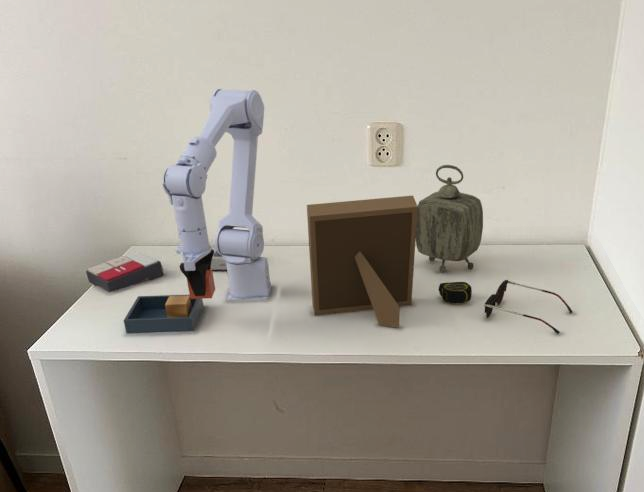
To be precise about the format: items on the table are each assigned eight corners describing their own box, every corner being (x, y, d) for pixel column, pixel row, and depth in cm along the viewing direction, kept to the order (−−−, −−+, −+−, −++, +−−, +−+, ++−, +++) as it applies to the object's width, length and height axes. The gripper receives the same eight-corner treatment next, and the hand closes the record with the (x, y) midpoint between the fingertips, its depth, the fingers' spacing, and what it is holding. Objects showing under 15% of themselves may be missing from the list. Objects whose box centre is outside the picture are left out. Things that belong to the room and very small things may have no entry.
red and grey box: (84, 268, 180) (137, 248, 188) (89, 284, 182) (142, 263, 190) (105, 280, 173) (160, 258, 181) (110, 296, 175) (164, 274, 184)
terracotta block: (215, 289, 157) (212, 269, 154) (211, 298, 153) (208, 278, 150) (194, 290, 157) (191, 270, 154) (190, 299, 153) (186, 278, 151)
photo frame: (312, 307, 165) (303, 196, 151) (407, 297, 168) (406, 187, 154) (320, 337, 153) (311, 219, 139) (422, 325, 156) (423, 209, 142)
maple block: (193, 313, 163) (189, 295, 161) (189, 323, 160) (185, 304, 157) (172, 314, 163) (169, 296, 161) (168, 323, 160) (164, 304, 157)
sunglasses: (502, 298, 166) (505, 277, 163) (573, 314, 160) (577, 293, 157) (481, 323, 156) (484, 301, 153) (556, 341, 150) (560, 319, 147)
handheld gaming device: (194, 258, 193) (191, 244, 191) (248, 258, 191) (246, 244, 189) (184, 272, 185) (181, 257, 183) (240, 272, 184) (238, 257, 182)
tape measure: (467, 294, 168) (468, 278, 166) (473, 306, 163) (474, 290, 161) (438, 295, 168) (438, 280, 166) (443, 308, 162) (443, 292, 160)
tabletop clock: (480, 268, 181) (486, 164, 167) (464, 281, 174) (469, 174, 160) (428, 258, 187) (430, 157, 173) (411, 270, 181) (411, 166, 167)
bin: (204, 308, 167) (201, 293, 165) (194, 333, 157) (191, 318, 155) (141, 310, 167) (137, 296, 165) (126, 335, 157) (123, 320, 155)
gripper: (179, 215, 153) (190, 277, 161) (163, 240, 141) (176, 305, 148) (213, 214, 153) (222, 276, 160) (200, 239, 141) (210, 304, 148)
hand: (202, 290), depth 154 cm, fingers closed on terracotta block, 4 cm apart
